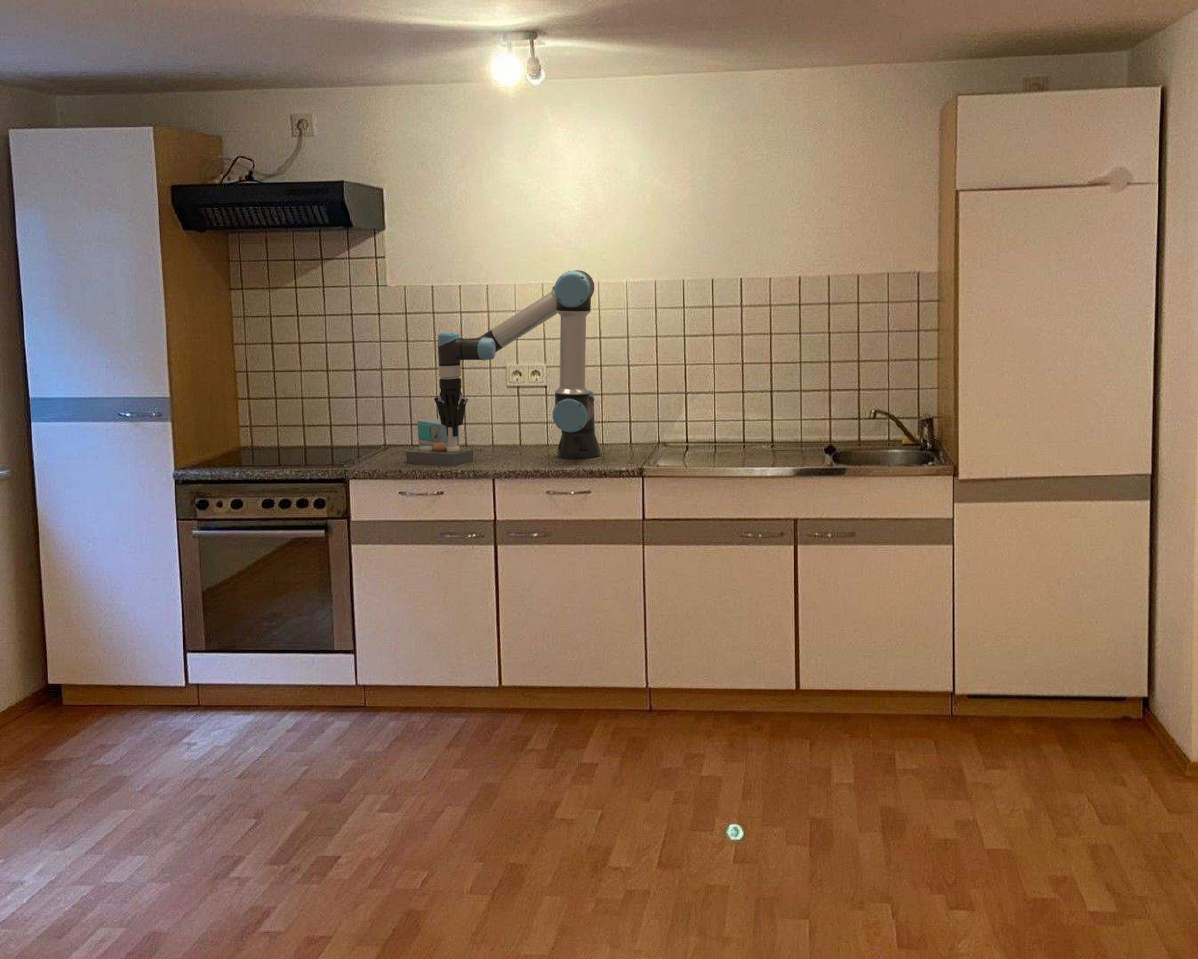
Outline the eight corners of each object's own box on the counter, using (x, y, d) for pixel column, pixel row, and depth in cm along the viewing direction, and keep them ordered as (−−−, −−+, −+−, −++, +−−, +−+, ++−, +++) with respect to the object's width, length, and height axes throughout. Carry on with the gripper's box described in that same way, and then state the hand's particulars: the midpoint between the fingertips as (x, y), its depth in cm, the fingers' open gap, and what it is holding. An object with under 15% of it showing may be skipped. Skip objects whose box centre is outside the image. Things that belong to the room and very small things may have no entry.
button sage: (434, 453, 515) (434, 446, 514) (427, 455, 511) (426, 447, 511) (424, 452, 517) (424, 445, 517) (417, 454, 513) (416, 447, 513)
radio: (416, 453, 535) (413, 398, 532) (437, 450, 540) (434, 396, 537) (438, 457, 523) (436, 401, 519) (460, 454, 528) (457, 399, 525)
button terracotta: (448, 449, 511) (448, 442, 511) (440, 451, 508) (440, 444, 507) (438, 449, 514) (437, 442, 513) (430, 451, 510) (430, 443, 510)
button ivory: (462, 453, 508) (462, 445, 508) (454, 454, 505) (454, 447, 504) (452, 452, 511) (451, 445, 510) (444, 454, 507) (444, 447, 507)
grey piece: (473, 460, 511) (473, 449, 511) (452, 465, 501) (452, 454, 500) (427, 457, 521) (427, 446, 521) (406, 462, 511) (406, 451, 511)
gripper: (472, 377, 503) (474, 445, 507) (441, 376, 510) (444, 443, 514) (459, 379, 497) (461, 448, 501) (428, 378, 504) (431, 446, 507)
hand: (452, 445), depth 507 cm, fingers closed
